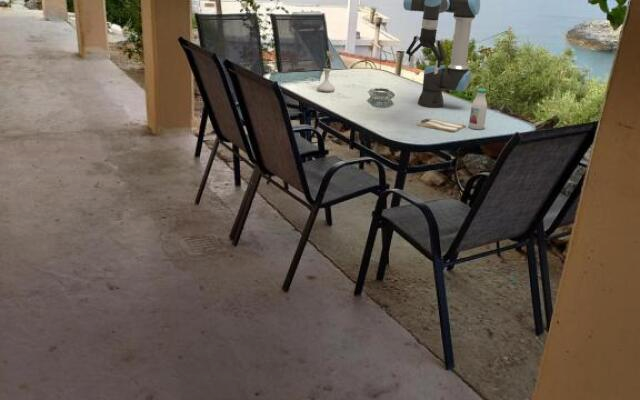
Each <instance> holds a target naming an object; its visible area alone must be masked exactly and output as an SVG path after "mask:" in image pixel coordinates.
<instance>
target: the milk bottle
mask: <svg viewBox="0 0 640 400" xmlns="http://www.w3.org/2000/svg"><path fill="white" fill-rule="evenodd" d="M486 95H487V89H486V88H477V90H476V96H475V98H474V100H473V102H472V104H471V109H470V115H469V121H468V128H469V129H471V130H483V129H484V128H485V124H486V118H487V117H486V116H487V110H488V103H487V98H486Z"/></svg>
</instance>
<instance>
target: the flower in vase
mask: <svg viewBox="0 0 640 400" xmlns="http://www.w3.org/2000/svg"><path fill="white" fill-rule="evenodd" d="M326 55H327V59H326V62H324V63H325V64H324V65H325V67H326V68H323V69H322V70H323V73H324V80H323V82H321V83H320V84H319V85H318V86H317V90H318V91H320V92H325V93H329V92H330V93H331V92H334V91H335V90H336V87H335V86H334V85H333V84H332V83H331V82H330V81H329V75H330V72H331V70H332V69H331V68H328V67H329V66H330V64H328V65H327V62H328V60H330V61H331V62H332V63H333V62H335V58H334V56H333V54H332V53H331V52H330V51H329V50H326Z"/></svg>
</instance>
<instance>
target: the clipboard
mask: <svg viewBox="0 0 640 400" xmlns="http://www.w3.org/2000/svg"><path fill="white" fill-rule="evenodd" d="M416 126H417V127H422V128H427V129H432V130H438V131H443V132H448V133H453V134H454V133H456V132H458V131H460V130H462V129H465V128H466V125H464V124H461V123H455V122H451V121H444V120H439V119H434V118H424V119H421V121H420V122H418V123H416Z"/></svg>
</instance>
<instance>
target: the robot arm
mask: <svg viewBox="0 0 640 400" xmlns="http://www.w3.org/2000/svg"><path fill="white" fill-rule="evenodd" d="M403 9H404V10H405V11H410V12H423V14H422V20H421V21H422V22H421V28H420V36H418V35H415V36H413V38H412V41H411V43H410V45H409V46H408V48H407V50H406V51H405V54H406V55H408V62H409V65H408V69H409V70H412V69H413V67H414V58H415V55H414V54H415V53H416V52H417V51H418V50H419V49H420V48H421V47H422V48H427V49H430V50H431V51H432V53H433V54H434V56H435V58H436V61H435V65H428V66H426V67H425V68H424V73H423V79H422V82H423V83H422V90H421V93H420V96H419V98H418V100H417V105H418V106H421V107H426V108H435V109H436V108H443V107H444V103H445V101H444V96H443V90H446V91H447V90H450V91H454V92H465V91H466V90H467V89H468V87H469V85H470V82H471V79H472V72H471V71H470V70H469V66H468V65H467V59H468V53H469V52H468V51H469V45H470V37H471V36H470V35H471V30H472V29H471V28H472V21H474V19H475V18H476V16H477V15H479V13H480V10H481V0H403ZM443 13H451V14H453V17H452V18H454V20H455V23H454V33H453V41H452V49H451V50H452V51H451V58H450V64H449V65H447V68H446V65H441V64H442V61H446V56H445V52H444V49H443V45H442V44H443V43H442V42H443V40H442V39H436V37H437V31H438V30H437V28H438V24H439V17H440V14H443ZM418 41H419V44H417V46H415V45H416V43H417V42H418ZM435 44H436V45H435ZM436 46H437V48H436ZM412 49H413V50H412Z"/></svg>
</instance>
